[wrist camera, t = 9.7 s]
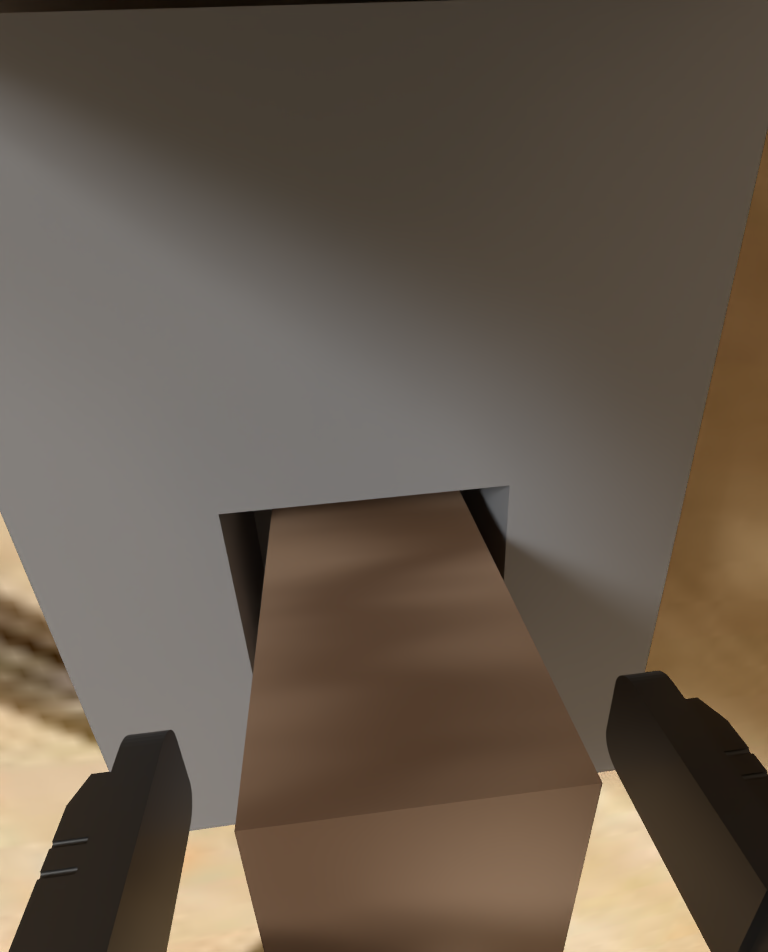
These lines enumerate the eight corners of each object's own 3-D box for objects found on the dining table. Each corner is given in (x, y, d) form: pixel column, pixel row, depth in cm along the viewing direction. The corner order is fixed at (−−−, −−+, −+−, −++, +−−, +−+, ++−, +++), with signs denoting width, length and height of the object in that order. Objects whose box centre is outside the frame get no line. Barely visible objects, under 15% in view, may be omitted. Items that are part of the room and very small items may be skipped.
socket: (557, 647, 21) (623, 768, 17) (175, 694, 20) (137, 838, 16) (631, 57, 13) (799, -10, 8) (-13, 80, 12) (-207, 18, 7)
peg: (438, 447, 16) (603, 783, 7) (435, 575, 18) (560, 961, 9) (277, 458, 15) (233, 831, 6) (294, 588, 17) (278, 1007, 9)
